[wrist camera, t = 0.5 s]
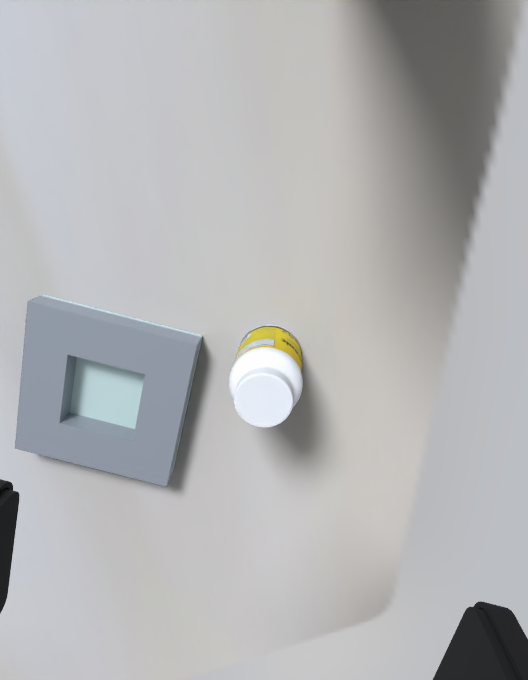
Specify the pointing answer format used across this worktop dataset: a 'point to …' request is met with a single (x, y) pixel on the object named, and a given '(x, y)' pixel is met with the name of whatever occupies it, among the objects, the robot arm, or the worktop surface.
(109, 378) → the holder block
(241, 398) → the supplement bottle
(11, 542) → the robot arm
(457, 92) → the worktop surface
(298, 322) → the worktop surface
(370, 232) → the worktop surface
